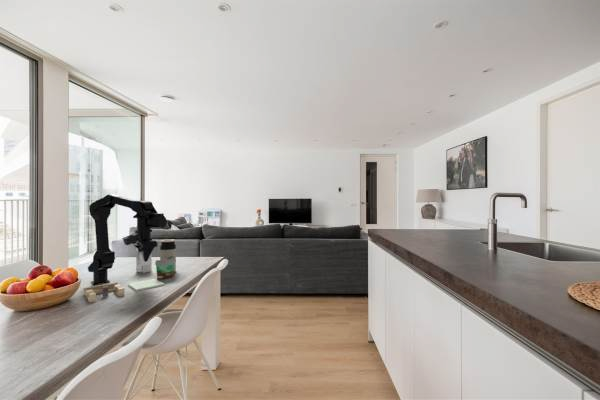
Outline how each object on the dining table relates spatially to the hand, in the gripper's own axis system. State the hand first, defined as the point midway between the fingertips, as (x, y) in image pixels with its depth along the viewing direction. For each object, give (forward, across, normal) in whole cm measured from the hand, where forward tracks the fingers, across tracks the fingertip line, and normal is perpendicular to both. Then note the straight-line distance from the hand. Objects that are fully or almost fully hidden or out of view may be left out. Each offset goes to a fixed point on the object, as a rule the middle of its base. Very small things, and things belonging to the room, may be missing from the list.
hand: (143, 260), depth 131 cm
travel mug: (+12, -19, +18) cm, 29 cm away
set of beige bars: (+12, +1, -16) cm, 20 cm away
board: (+12, 0, +1) cm, 12 cm away
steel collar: (+2, 0, 0) cm, 2 cm away
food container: (+12, -8, +14) cm, 20 cm away
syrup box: (+12, -30, +9) cm, 33 cm away
